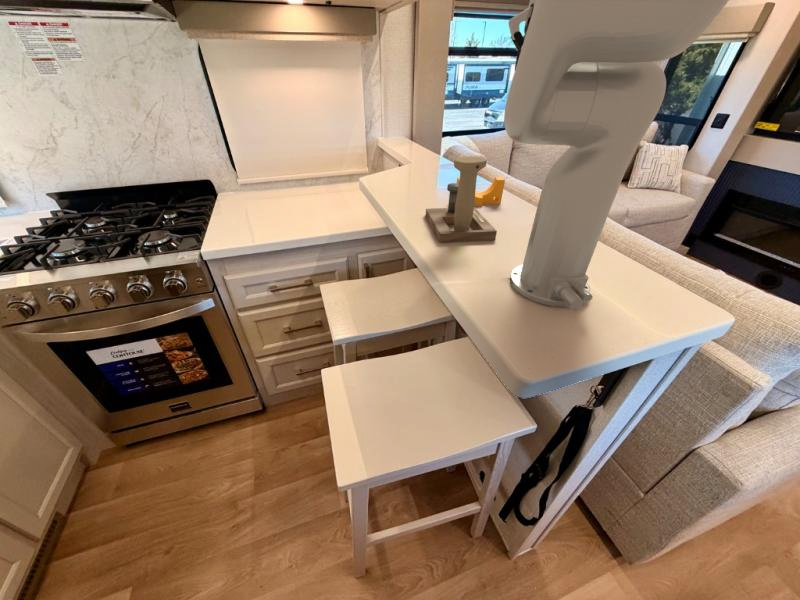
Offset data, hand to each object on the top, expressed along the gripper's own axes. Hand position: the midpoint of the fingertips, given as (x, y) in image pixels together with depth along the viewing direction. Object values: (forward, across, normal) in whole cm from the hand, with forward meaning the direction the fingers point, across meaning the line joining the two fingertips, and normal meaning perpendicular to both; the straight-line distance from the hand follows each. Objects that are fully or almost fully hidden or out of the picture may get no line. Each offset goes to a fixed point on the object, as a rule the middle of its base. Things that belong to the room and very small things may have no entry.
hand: (543, 76), depth 64 cm
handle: (+28, -16, -8) cm, 33 cm away
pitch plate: (+28, -16, -5) cm, 33 cm away
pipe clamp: (+29, -5, +10) cm, 31 cm away
